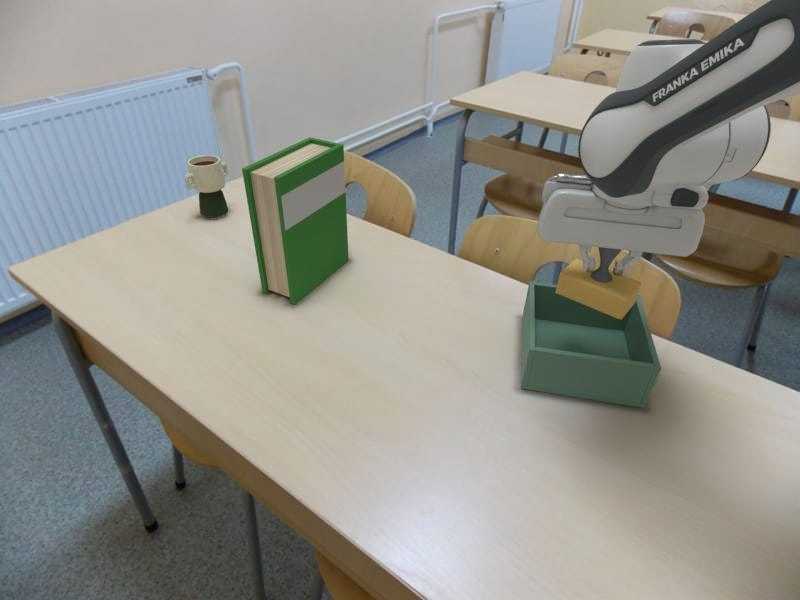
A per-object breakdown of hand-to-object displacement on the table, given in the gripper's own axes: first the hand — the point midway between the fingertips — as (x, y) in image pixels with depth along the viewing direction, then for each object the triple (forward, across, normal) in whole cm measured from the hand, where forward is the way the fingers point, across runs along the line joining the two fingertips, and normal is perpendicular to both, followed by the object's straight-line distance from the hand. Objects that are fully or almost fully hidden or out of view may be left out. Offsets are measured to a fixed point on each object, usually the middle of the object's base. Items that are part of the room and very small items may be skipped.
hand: (602, 272), depth 73 cm
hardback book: (+17, -50, +13) cm, 54 cm away
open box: (+16, 0, 0) cm, 17 cm away
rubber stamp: (+5, 0, 0) cm, 5 cm away
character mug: (+17, -80, +33) cm, 88 cm away
